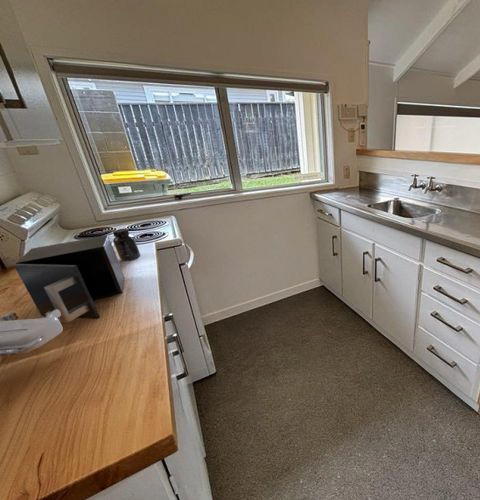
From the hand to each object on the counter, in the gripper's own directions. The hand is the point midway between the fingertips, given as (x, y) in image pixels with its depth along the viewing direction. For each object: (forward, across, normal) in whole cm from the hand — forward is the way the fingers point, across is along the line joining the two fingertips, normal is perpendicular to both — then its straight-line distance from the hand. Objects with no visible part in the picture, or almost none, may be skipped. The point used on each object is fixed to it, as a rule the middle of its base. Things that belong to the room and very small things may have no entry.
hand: (35, 313), depth 65 cm
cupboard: (+23, +8, +8) cm, 26 cm away
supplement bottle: (+52, +14, +8) cm, 55 cm away
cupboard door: (+8, +4, +8) cm, 12 cm away
